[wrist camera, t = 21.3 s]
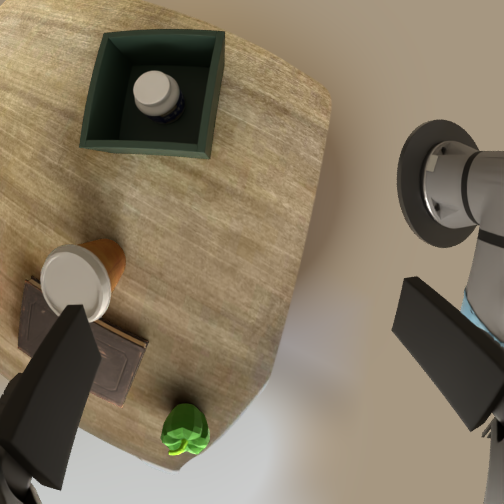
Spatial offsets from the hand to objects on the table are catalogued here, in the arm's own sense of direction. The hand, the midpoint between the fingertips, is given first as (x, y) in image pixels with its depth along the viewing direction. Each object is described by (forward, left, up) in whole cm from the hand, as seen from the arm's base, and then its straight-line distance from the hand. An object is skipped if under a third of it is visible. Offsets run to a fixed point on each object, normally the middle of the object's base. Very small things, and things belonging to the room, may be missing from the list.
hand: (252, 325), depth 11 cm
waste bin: (+11, -14, -30) cm, 34 cm away
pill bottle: (+11, -14, -29) cm, 34 cm away
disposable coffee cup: (+18, +8, -30) cm, 35 cm away
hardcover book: (+25, +24, -30) cm, 45 cm away
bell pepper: (+5, +36, -30) cm, 47 cm away
